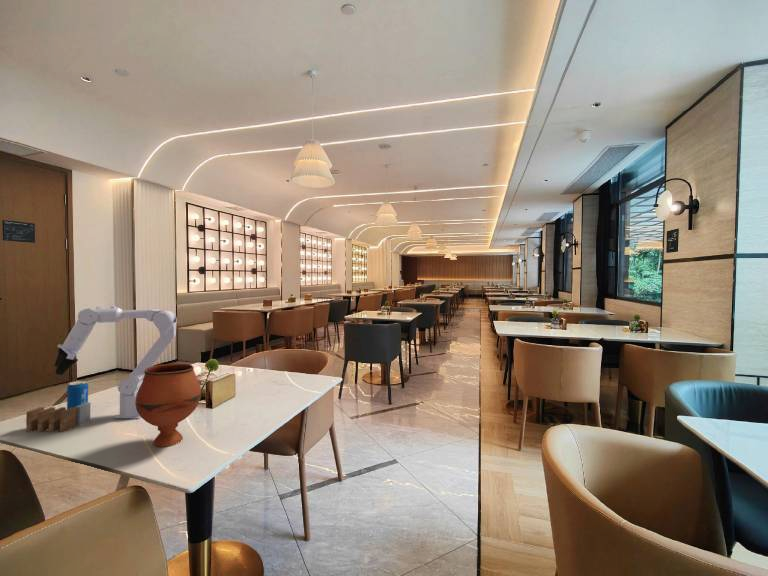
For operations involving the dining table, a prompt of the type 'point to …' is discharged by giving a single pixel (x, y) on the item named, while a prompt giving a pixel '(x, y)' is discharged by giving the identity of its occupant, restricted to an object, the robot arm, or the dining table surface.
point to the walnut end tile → (32, 419)
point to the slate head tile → (82, 414)
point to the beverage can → (77, 393)
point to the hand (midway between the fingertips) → (58, 370)
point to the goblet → (168, 399)
